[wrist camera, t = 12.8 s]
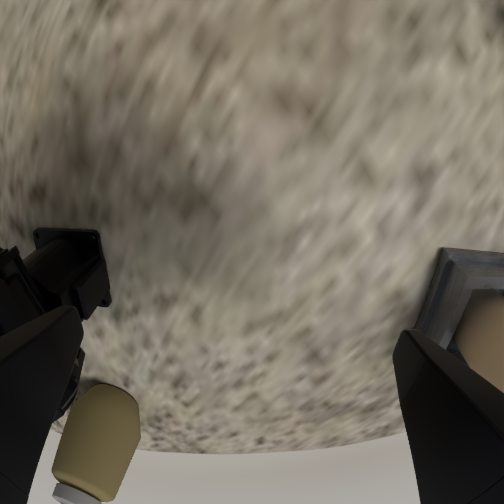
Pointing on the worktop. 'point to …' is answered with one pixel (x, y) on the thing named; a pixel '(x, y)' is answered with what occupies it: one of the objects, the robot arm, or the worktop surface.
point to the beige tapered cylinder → (483, 335)
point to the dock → (457, 292)
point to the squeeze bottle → (96, 446)
